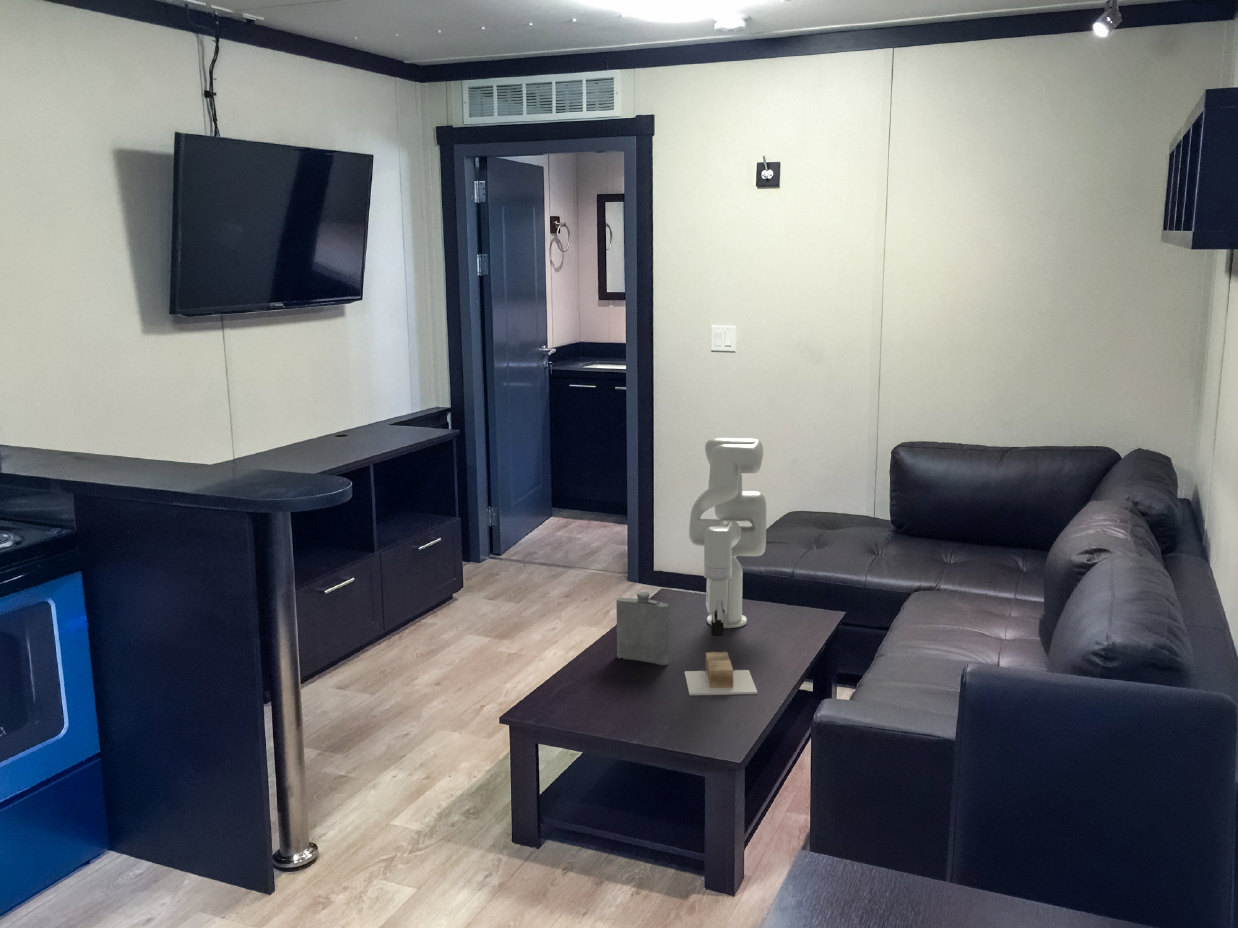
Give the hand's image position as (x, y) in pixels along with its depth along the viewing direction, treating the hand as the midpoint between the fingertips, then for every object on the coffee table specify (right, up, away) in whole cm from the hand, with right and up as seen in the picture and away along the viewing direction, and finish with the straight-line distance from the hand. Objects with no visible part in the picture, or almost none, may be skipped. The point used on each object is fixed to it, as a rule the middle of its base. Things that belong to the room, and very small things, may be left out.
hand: (717, 634), depth 292 cm
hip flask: (-20, -9, +13) cm, 26 cm away
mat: (0, -12, -5) cm, 13 cm away
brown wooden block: (0, -8, +3) cm, 8 cm away
